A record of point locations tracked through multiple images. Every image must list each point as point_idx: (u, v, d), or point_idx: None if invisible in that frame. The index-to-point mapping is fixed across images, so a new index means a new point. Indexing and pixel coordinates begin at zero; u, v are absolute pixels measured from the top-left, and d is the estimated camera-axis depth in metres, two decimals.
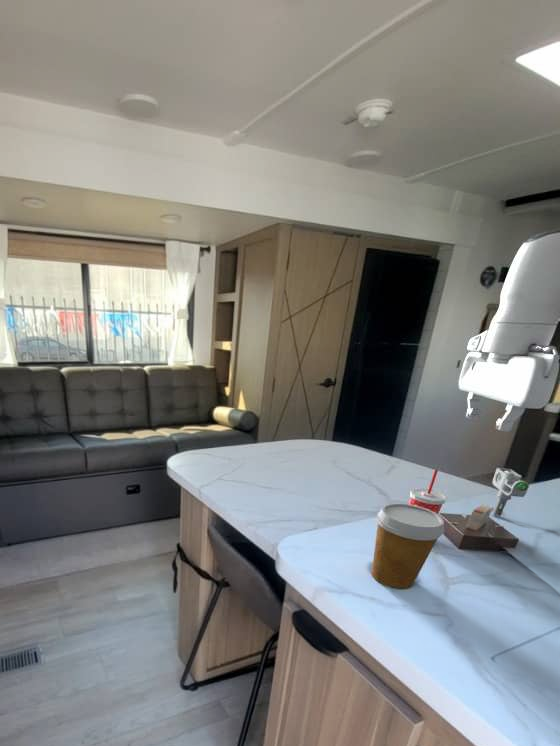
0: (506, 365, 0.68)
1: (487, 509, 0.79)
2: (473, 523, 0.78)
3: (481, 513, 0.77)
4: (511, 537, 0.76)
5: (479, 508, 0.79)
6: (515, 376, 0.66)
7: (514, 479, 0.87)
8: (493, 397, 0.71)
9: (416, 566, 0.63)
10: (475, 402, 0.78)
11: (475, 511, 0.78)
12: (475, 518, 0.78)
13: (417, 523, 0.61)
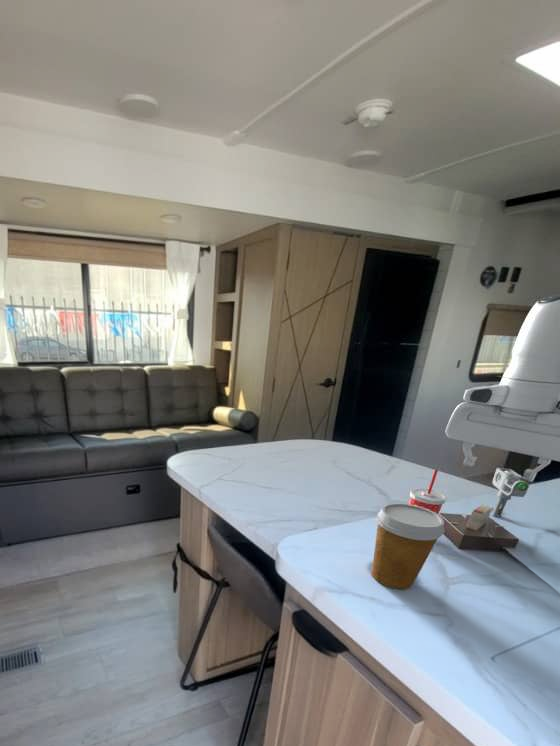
0: (534, 421, 0.69)
1: (487, 509, 0.79)
2: (473, 523, 0.78)
3: (481, 513, 0.77)
4: (511, 537, 0.76)
5: (479, 508, 0.79)
6: (551, 432, 0.68)
7: (514, 479, 0.87)
8: (518, 450, 0.71)
9: (416, 566, 0.63)
10: (469, 450, 0.78)
11: (475, 511, 0.78)
12: (475, 518, 0.78)
13: (417, 523, 0.61)
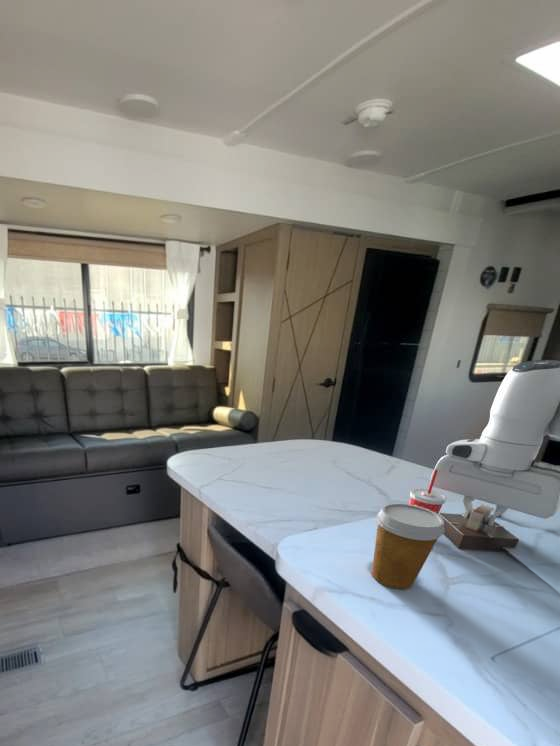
0: (511, 477, 0.73)
1: (487, 509, 0.79)
2: (473, 523, 0.78)
3: (481, 513, 0.77)
4: (511, 537, 0.76)
5: (479, 508, 0.79)
6: (527, 489, 0.72)
7: None
8: (497, 503, 0.76)
9: (416, 566, 0.63)
10: (470, 503, 0.81)
11: (475, 511, 0.78)
12: (475, 518, 0.78)
13: (417, 523, 0.61)
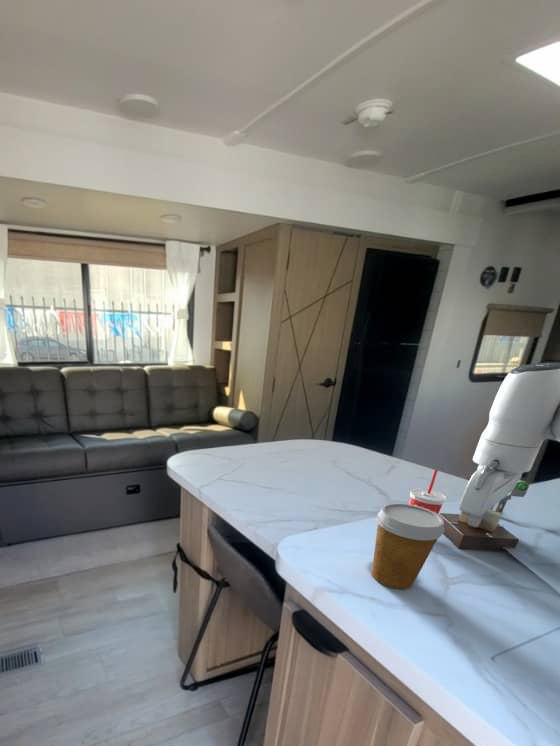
0: None
1: None
2: None
3: None
4: (511, 537, 0.76)
5: None
6: None
7: None
8: None
9: (416, 566, 0.63)
10: None
11: None
12: None
13: (417, 523, 0.61)
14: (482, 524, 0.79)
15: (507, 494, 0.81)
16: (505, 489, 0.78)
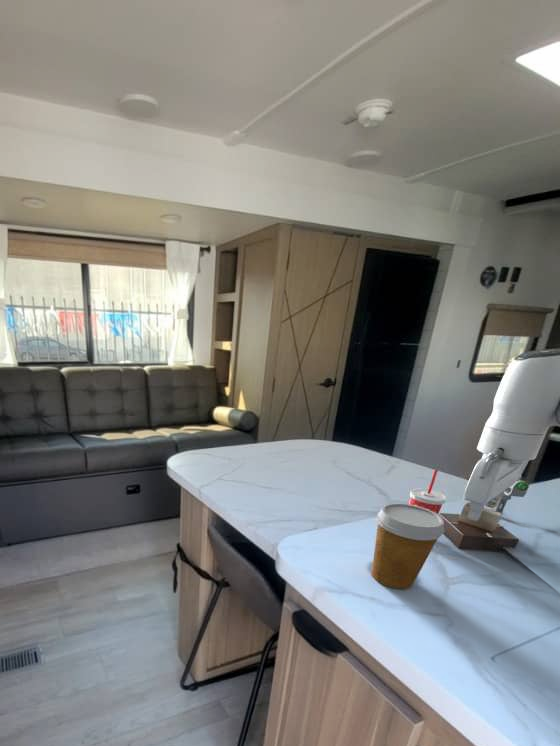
0: None
1: (485, 511, 0.78)
2: None
3: (465, 504, 0.81)
4: (511, 537, 0.76)
5: None
6: None
7: None
8: None
9: (416, 566, 0.63)
10: None
11: (467, 503, 0.81)
12: None
13: (417, 523, 0.61)
14: (482, 524, 0.79)
15: (512, 483, 0.80)
16: (510, 478, 0.77)
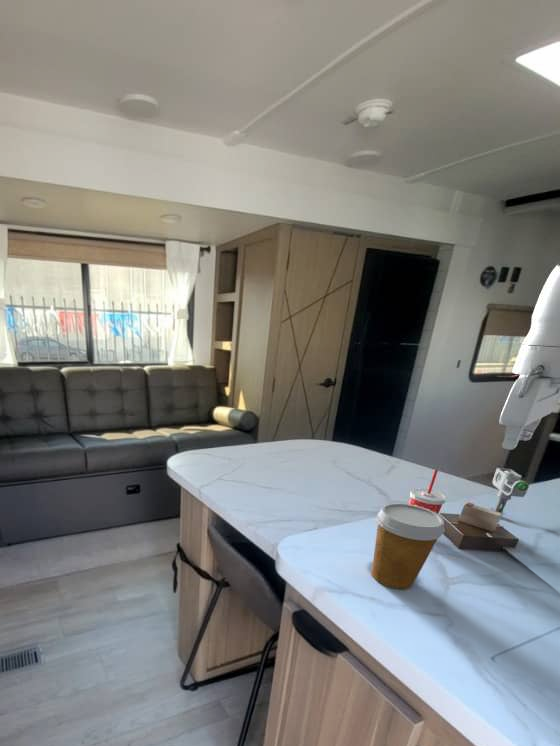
0: None
1: (485, 511, 0.78)
2: None
3: (465, 504, 0.81)
4: (511, 537, 0.76)
5: (482, 508, 0.80)
6: None
7: (514, 479, 0.87)
8: None
9: (416, 566, 0.63)
10: (530, 424, 0.76)
11: (467, 503, 0.81)
12: None
13: (417, 523, 0.61)
14: (482, 524, 0.79)
15: (548, 413, 0.75)
16: (548, 404, 0.71)
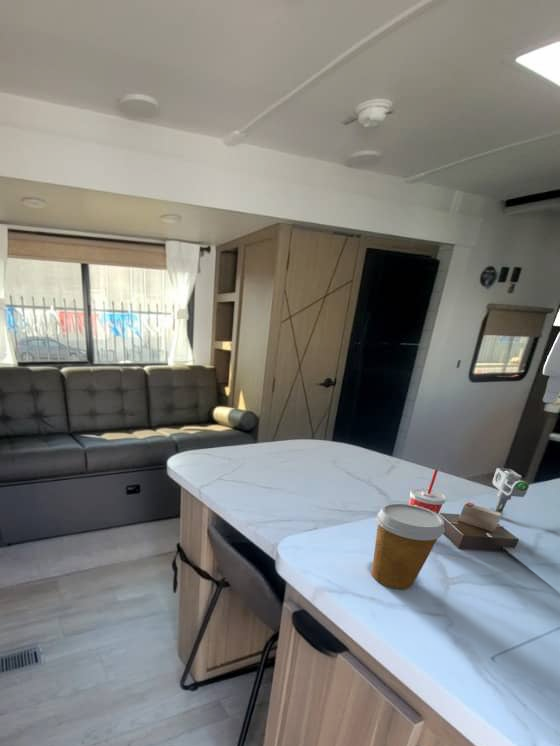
0: None
1: (485, 511, 0.78)
2: None
3: (465, 504, 0.81)
4: (511, 537, 0.76)
5: (482, 508, 0.80)
6: None
7: (514, 479, 0.87)
8: None
9: (416, 566, 0.63)
10: None
11: (467, 503, 0.81)
12: None
13: (417, 523, 0.61)
14: (482, 524, 0.79)
15: None
16: None
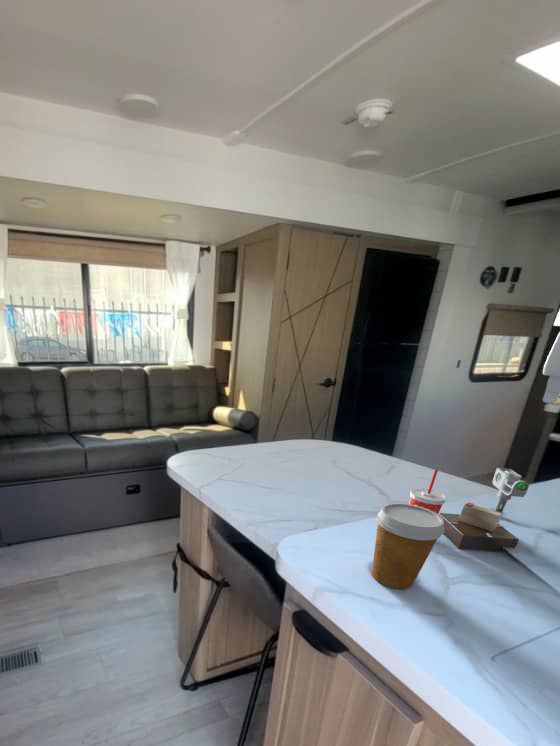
0: None
1: (485, 511, 0.78)
2: None
3: (465, 504, 0.81)
4: (511, 537, 0.76)
5: (482, 508, 0.80)
6: None
7: (514, 479, 0.87)
8: None
9: (416, 566, 0.63)
10: None
11: (467, 503, 0.81)
12: None
13: (417, 523, 0.61)
14: (482, 524, 0.79)
15: None
16: None
